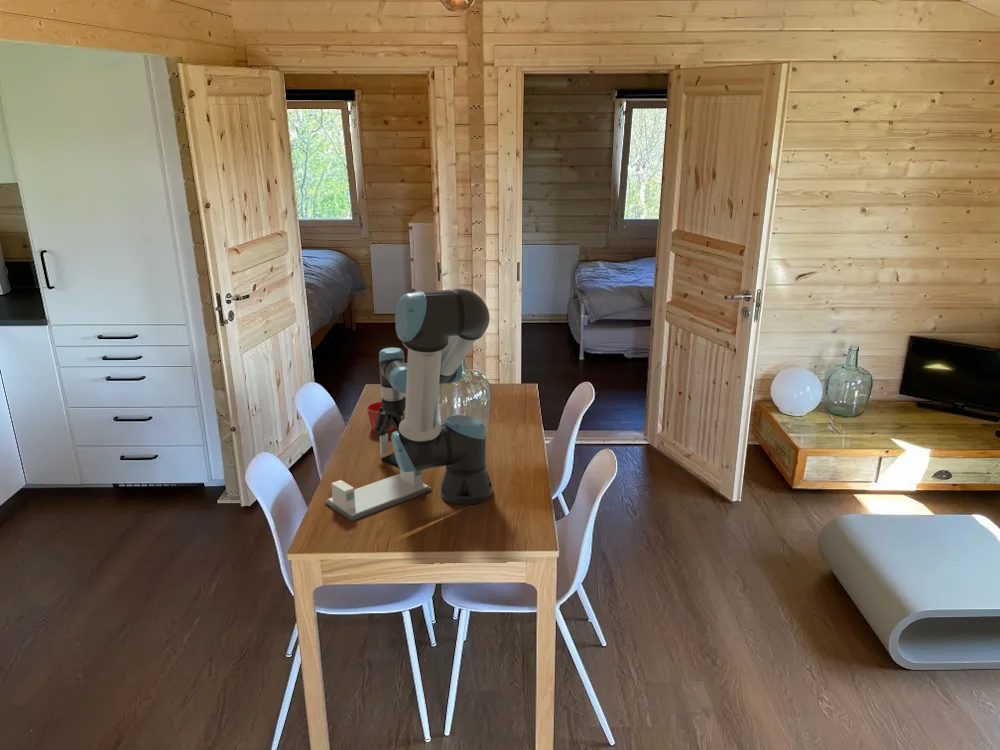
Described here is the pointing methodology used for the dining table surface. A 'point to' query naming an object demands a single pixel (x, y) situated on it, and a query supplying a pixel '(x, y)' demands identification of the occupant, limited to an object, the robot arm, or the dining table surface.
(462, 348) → the robot arm
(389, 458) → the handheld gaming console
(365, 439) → the dining table surface
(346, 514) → the board
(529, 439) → the dining table surface
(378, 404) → the flower pot
